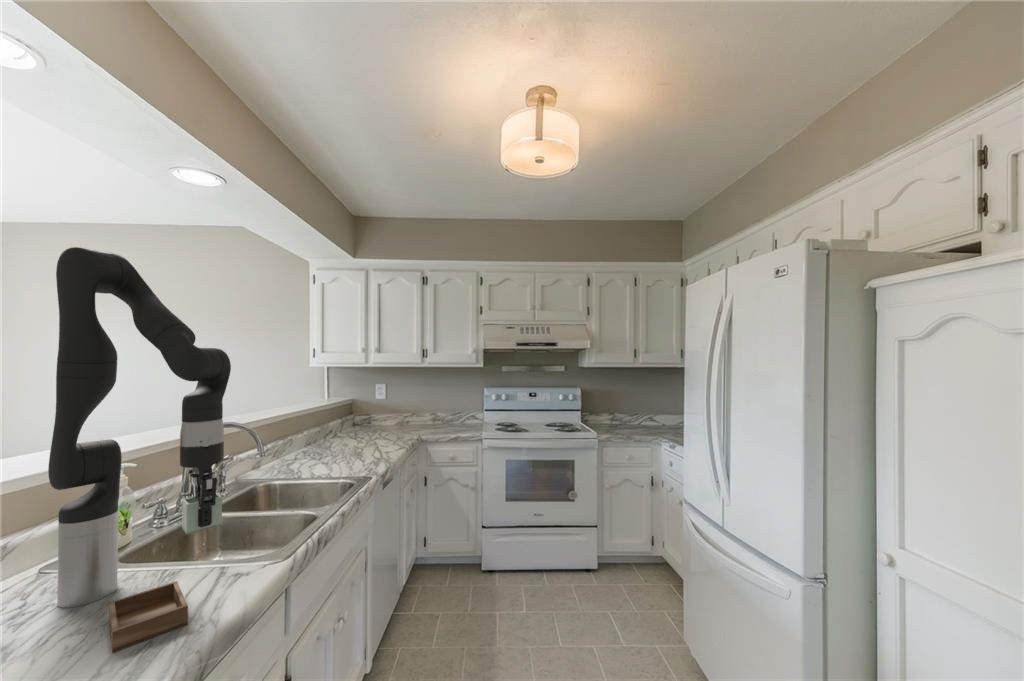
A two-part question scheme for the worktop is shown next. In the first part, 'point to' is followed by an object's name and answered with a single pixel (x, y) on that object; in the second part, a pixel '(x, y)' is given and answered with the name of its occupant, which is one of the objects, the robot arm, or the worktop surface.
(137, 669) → the worktop surface
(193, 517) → the small crate
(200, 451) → the robot arm
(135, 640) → the big crate
